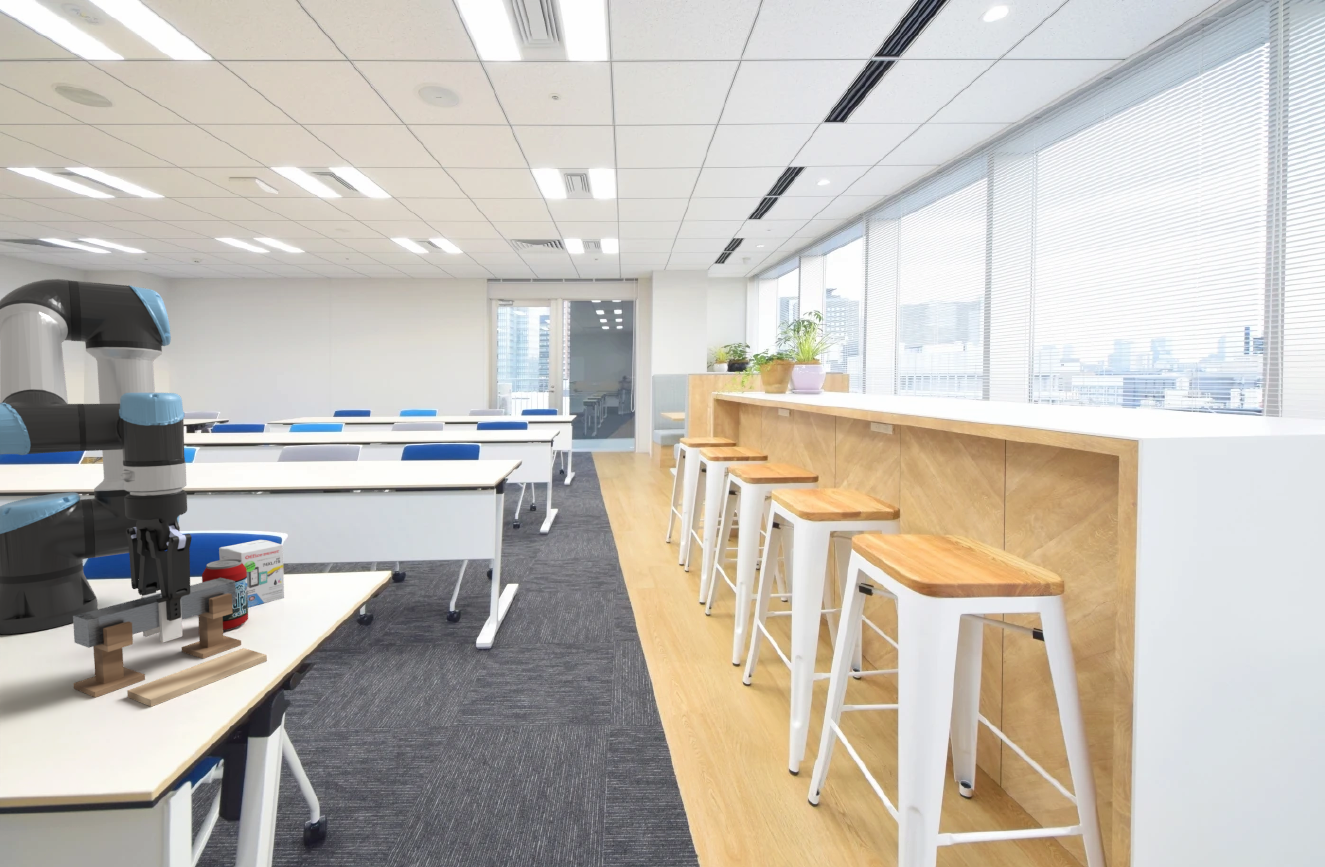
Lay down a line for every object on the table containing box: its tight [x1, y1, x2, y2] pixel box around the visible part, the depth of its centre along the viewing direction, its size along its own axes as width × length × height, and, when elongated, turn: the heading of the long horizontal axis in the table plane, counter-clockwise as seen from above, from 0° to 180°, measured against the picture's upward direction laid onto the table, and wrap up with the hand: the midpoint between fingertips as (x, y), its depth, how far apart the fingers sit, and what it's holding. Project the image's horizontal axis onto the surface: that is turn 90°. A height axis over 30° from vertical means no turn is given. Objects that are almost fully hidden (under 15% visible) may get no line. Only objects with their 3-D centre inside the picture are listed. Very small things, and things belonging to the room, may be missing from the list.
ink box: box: [218, 539, 285, 608], centre depth 127 cm, size 8×8×12 cm
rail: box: [72, 578, 236, 649], centre depth 97 cm, size 4×20×4 cm, turn 156°
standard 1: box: [73, 622, 146, 698], centre depth 90 cm, size 7×6×10 cm
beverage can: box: [201, 559, 249, 632], centre depth 113 cm, size 7×7×12 cm
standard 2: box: [181, 593, 242, 659], centre depth 103 cm, size 7×6×10 cm
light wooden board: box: [126, 647, 268, 707], centre depth 93 cm, size 6×16×1 cm, turn 156°
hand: (162, 635), depth 97 cm, fingers closed on rail, 4 cm apart
